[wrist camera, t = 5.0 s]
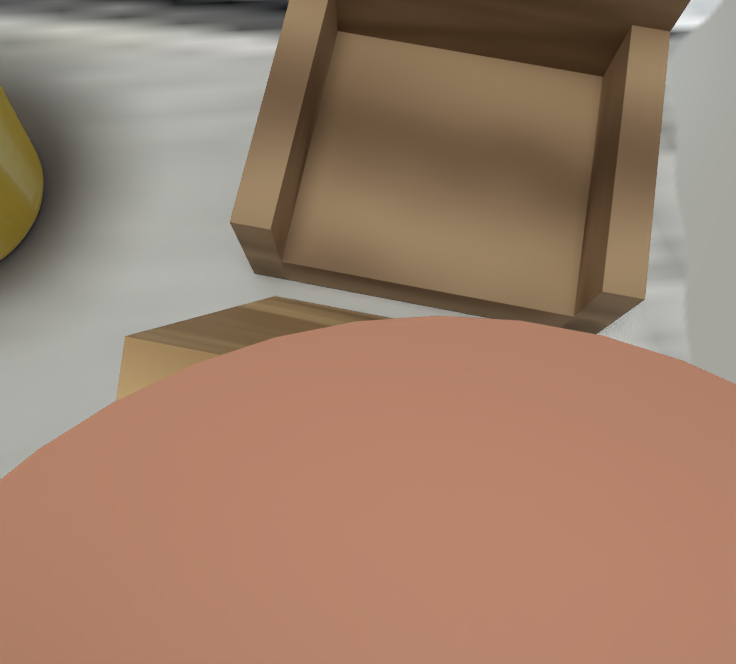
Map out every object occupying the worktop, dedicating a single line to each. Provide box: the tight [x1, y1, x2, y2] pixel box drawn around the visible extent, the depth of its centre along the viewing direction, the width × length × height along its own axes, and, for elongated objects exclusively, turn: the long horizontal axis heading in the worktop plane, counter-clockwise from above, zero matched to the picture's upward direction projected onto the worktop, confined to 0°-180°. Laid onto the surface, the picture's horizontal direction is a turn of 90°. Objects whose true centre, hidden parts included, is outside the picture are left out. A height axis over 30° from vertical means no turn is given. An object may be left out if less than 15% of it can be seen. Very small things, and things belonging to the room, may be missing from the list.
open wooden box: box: [230, 0, 690, 334], centre depth 21 cm, size 10×12×6 cm
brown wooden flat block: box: [116, 296, 393, 401], centre depth 16 cm, size 4×10×12 cm, turn 79°
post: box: [0, 316, 736, 664], centre depth 8 cm, size 5×5×13 cm
